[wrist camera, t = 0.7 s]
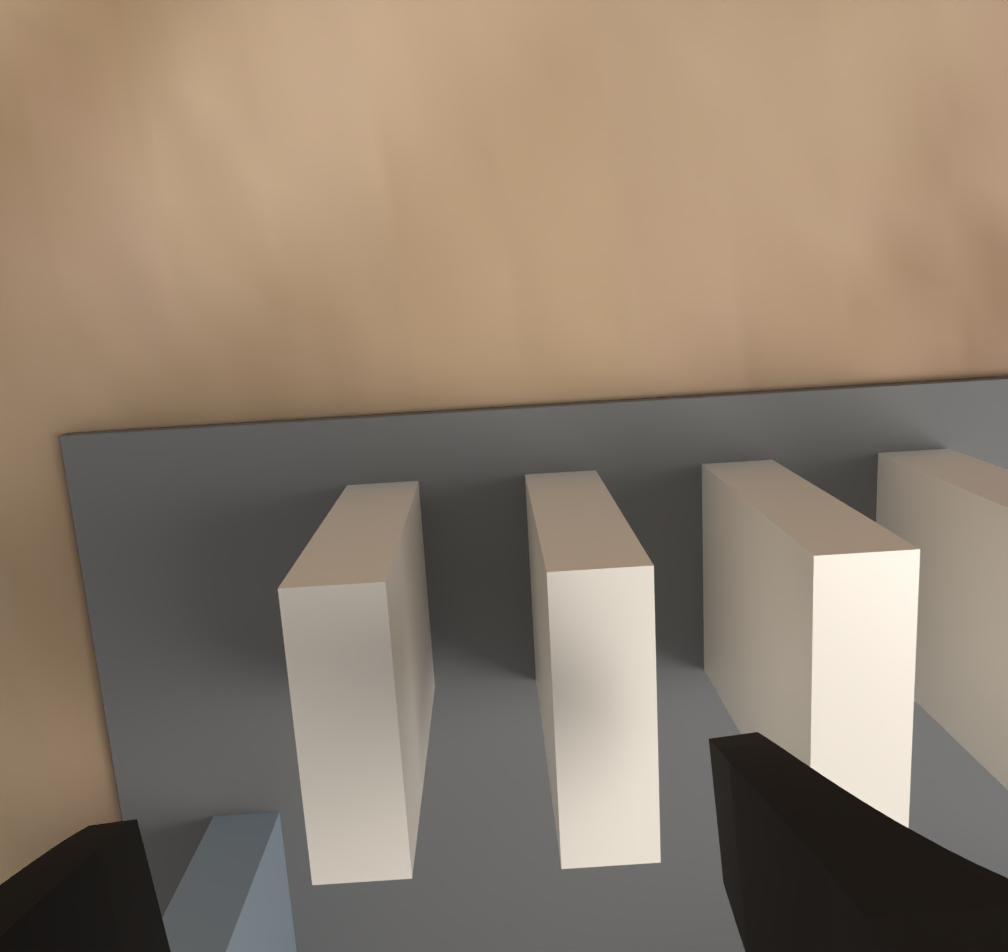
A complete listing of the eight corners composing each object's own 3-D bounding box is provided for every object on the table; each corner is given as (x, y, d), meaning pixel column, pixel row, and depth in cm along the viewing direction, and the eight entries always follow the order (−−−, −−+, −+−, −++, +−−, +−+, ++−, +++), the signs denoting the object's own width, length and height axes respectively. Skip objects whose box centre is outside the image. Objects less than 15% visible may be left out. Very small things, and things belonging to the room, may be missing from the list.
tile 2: (772, 459, 20) (920, 549, 13) (770, 665, 21) (907, 846, 14) (701, 464, 20) (813, 555, 13) (704, 670, 21) (808, 852, 14)
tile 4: (418, 480, 20) (385, 581, 13) (435, 686, 21) (412, 878, 14) (347, 484, 20) (278, 588, 13) (367, 691, 21) (312, 884, 14)
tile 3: (595, 470, 20) (653, 565, 13) (603, 675, 21) (660, 862, 14) (524, 474, 20) (546, 572, 13) (536, 680, 21) (561, 869, 14)
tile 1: (948, 448, 20) (1185, 532, 13) (938, 654, 21) (1154, 830, 14) (878, 452, 20) (1079, 538, 13) (871, 659, 21) (1056, 836, 14)
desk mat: (1038, 374, 20) (1048, 376, 20) (999, 945, 24) (1008, 956, 23) (67, 433, 20) (59, 436, 20) (159, 1002, 23) (154, 1014, 23)
